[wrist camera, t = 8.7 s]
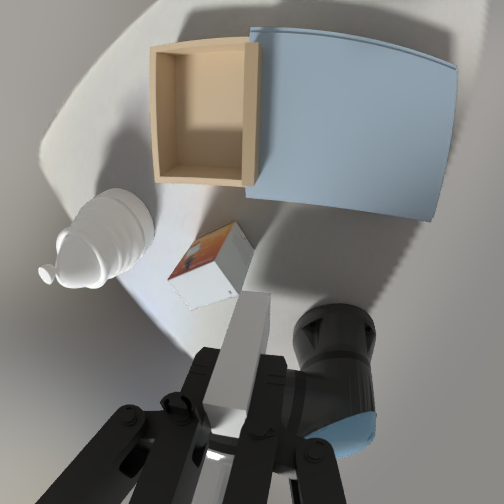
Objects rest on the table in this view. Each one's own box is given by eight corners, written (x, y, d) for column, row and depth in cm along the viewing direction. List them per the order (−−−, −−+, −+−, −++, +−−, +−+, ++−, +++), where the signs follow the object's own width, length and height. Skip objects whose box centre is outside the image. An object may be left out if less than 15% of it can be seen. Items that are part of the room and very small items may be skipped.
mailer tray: (335, 181, 35) (341, 197, 30) (174, 169, 37) (154, 182, 32) (347, 53, 26) (355, 45, 21) (172, 52, 29) (150, 47, 23)
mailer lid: (422, 212, 30) (441, 235, 25) (250, 189, 33) (239, 208, 28) (445, 66, 20) (471, 64, 15) (254, 32, 23) (243, 19, 18)
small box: (236, 219, 40) (215, 259, 31) (255, 250, 42) (241, 296, 33) (193, 239, 43) (165, 280, 34) (212, 267, 45) (190, 311, 36)
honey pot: (84, 215, 45) (16, 270, 30) (118, 172, 39) (35, 223, 24) (127, 266, 49) (73, 334, 34) (169, 233, 43) (107, 308, 28)
